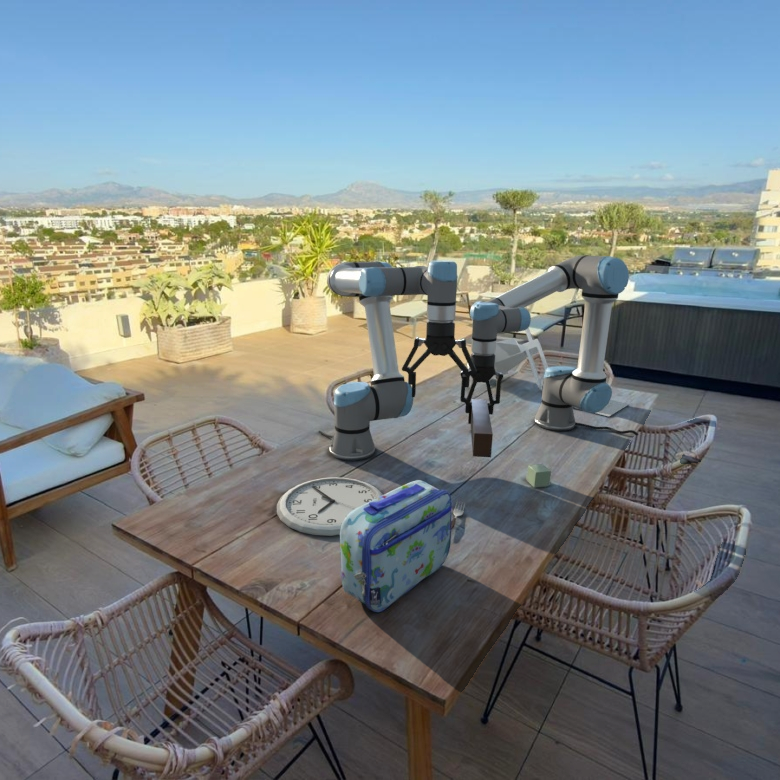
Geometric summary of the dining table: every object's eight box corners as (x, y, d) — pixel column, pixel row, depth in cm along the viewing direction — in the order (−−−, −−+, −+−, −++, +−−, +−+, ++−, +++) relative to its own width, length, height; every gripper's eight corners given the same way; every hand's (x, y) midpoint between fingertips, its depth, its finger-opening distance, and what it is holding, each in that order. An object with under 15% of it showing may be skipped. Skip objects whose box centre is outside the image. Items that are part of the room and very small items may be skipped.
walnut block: (470, 418, 174) (471, 398, 172) (485, 419, 174) (486, 399, 171) (472, 456, 146) (474, 433, 144) (490, 457, 145) (492, 434, 143)
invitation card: (608, 416, 214) (573, 407, 224) (608, 416, 214) (573, 408, 224) (628, 404, 229) (594, 396, 238) (628, 405, 229) (594, 397, 238)
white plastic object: (488, 419, 265) (468, 396, 240) (469, 347, 287) (449, 319, 262) (559, 395, 253) (546, 369, 228) (534, 321, 275) (519, 290, 250)
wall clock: (392, 527, 129) (268, 531, 127) (391, 533, 130) (269, 537, 127) (383, 473, 158) (282, 475, 155) (383, 478, 158) (282, 480, 156)
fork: (441, 537, 129) (441, 530, 128) (456, 506, 143) (456, 499, 142) (451, 539, 128) (452, 532, 127) (465, 508, 142) (466, 501, 142)
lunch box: (369, 626, 100) (370, 530, 93) (334, 598, 107) (332, 507, 101) (455, 567, 117) (460, 483, 111) (419, 547, 124) (423, 467, 118)
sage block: (541, 478, 160) (542, 463, 159) (549, 486, 156) (551, 470, 154) (526, 480, 159) (527, 465, 158) (534, 487, 155) (535, 472, 153)
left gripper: (488, 320, 141) (483, 395, 147) (396, 317, 144) (395, 390, 150) (488, 324, 133) (483, 403, 139) (392, 321, 137) (391, 398, 143)
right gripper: (511, 351, 165) (505, 420, 172) (454, 349, 167) (450, 417, 174) (513, 357, 158) (507, 428, 165) (453, 354, 160) (450, 425, 167)
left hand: (438, 397), depth 145 cm, fingers open, 13 cm apart
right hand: (478, 422), depth 170 cm, fingers closed on walnut block, 5 cm apart
